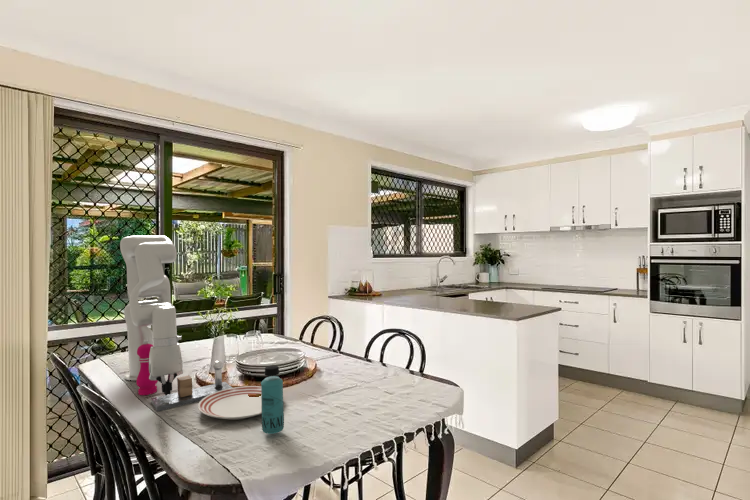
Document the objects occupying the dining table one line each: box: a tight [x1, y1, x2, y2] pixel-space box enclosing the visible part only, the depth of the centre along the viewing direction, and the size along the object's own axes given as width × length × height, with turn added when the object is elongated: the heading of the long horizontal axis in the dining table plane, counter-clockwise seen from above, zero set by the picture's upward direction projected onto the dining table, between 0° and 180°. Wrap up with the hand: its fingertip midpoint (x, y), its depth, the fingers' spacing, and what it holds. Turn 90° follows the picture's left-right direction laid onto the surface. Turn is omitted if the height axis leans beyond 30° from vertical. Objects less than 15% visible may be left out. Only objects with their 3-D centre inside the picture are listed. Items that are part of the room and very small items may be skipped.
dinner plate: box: [197, 385, 262, 421], centre depth 145 cm, size 27×27×3 cm
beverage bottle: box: [260, 365, 285, 435], centre depth 125 cm, size 6×7×20 cm
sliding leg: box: [176, 375, 193, 397], centre depth 154 cm, size 4×4×6 cm
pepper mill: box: [136, 340, 159, 396], centre depth 161 cm, size 7×7×20 cm
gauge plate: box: [150, 360, 234, 412], centre depth 155 cm, size 10×26×12 cm, turn 128°
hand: (167, 393), depth 150 cm, fingers closed
